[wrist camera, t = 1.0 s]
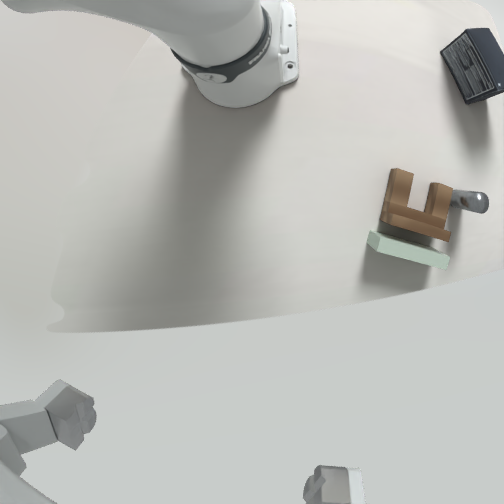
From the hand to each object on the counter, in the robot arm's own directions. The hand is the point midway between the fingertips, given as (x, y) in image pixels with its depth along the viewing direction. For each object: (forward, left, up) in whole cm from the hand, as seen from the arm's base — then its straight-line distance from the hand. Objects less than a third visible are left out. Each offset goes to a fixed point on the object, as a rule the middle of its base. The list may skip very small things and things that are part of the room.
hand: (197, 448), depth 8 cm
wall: (-3, +20, -39) cm, 44 cm away
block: (-10, +20, -39) cm, 45 cm away
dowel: (-13, +28, -39) cm, 50 cm away
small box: (-36, +27, -39) cm, 60 cm away
